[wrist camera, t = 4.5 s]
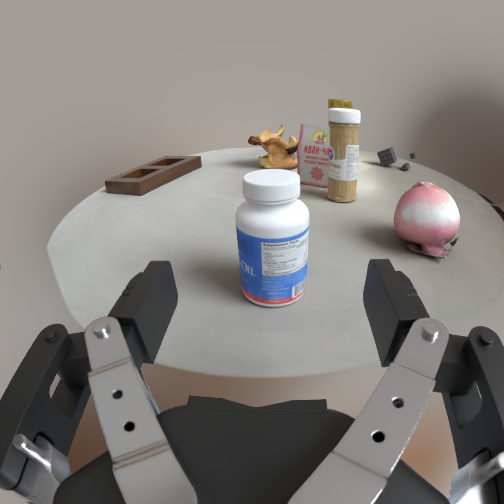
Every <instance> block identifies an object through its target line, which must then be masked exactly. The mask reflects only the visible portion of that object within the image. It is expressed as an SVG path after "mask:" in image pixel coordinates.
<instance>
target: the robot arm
mask: <svg viewBox="0 0 504 504" xmlns="http://www.w3.org/2000/svg"><path fill="white" fill-rule="evenodd" d="M177 302H178V293H177V288H176V284H175V280H174V275H173V271H172V267H171V264H170V262H169V261H151V262H150V263H149V264H148V266H147V267H146V269H145V270H144V272H143V273H142V272H140V273H139V274H137V275H136V276H135V277H133V278H132V279H131V280H130V282H129V283H128V285H127V286H126V289H124V291H123V292H122V295H121V296H120V297H119V299H118V300H117V302H116V303H115V305H114V306H113V308H112V310H111V311H110V313H109V314H108V316H107V317H101V318H98V319H96V320H94V321H93V322H91V323H90V324H89V325H88V326H87V328H86V329H85V332H80V333H73V334H69V333H68V332H67V329H66V328H65V326H63V325H62V324H52V325H50V326H48V327H46V328H44V329H43V330H42V331H41V332H40V334H39V335H38V336H37V338H36V340H35V341H34V343H33V344H32V346H31V348H30V349H29V351H28V352H27V354H26V356H25V357H24V359H23V361H22V362H21V364H20V366H19V367H18V369H17V371H16V373H15V374H14V376H13V378H12V379H11V381H10V383H9V385H8V387H7V389H6V390H5V392H4V394H3V396H2V398H1V400H0V488H1V489H2V490H4V491H6V492H8V493H9V494H11V495H13V496H14V497H16V498H18V499H20V500H22V501H25V502H27V503H29V504H504V346H503V344H502V342H501V340H500V338H499V337H498V335H497V334H496V333H495V332H494V331H492V330H491V329H489V328H487V327H483V326H478V327H475V328H473V329H472V330H471V331H470V333H469V335H468V337H465V336H458V335H452V334H449V333H448V330H447V328H446V327H445V326H444V325H443V324H442V323H441V322H439V321H437V320H435V319H432V318H430V317H429V315H428V313H427V311H426V309H425V307H424V305H423V303H422V301H421V299H420V297H419V296H418V295H417V292H416V290H415V288H414V286H413V285H412V283H411V281H410V279H409V278H408V277H407V276H406V275H404V274H403V273H402V272H401V271H395V270H394V268H393V266H392V264H391V262H390V261H389V259H371V260H370V261H369V264H368V270H367V275H366V281H365V286H364V292H363V302H364V307H365V310H366V313H367V317H368V320H369V323H370V326H371V330H372V333H373V336H374V340H375V343H376V347H377V350H378V354H379V358H380V361H381V365H382V367H388V369H387V370H386V372H385V374H384V376H383V377H382V379H381V381H380V382H379V384H378V386H377V387H376V389H375V391H374V392H373V394H372V395H371V397H370V398H369V400H368V401H367V403H366V405H365V406H364V408H363V409H362V411H361V412H360V414H359V415H358V417H357V418H356V419H354V418H352V417H350V416H349V415H347V414H344V413H342V412H339V411H335V410H332V409H327V402H326V399H323V400H322V399H321V400H292V401H287V402H283V403H278V404H273V405H268V406H263V407H251V406H247V405H243V404H239V403H236V402H233V401H229V400H225V399H222V398H211V397H199V396H189V399H188V403H187V405H182V406H177V407H174V408H170V409H168V410H166V411H163V412H160V410H159V408H158V406H157V404H156V402H155V400H154V398H153V396H152V394H151V391H150V389H149V387H148V385H147V383H146V380H145V378H144V376H143V374H142V371H141V369H140V368H141V365H142V363H150V364H153V363H154V361H155V358H156V355H157V353H158V350H159V348H160V345H161V343H162V340H163V338H164V335H165V333H166V330H167V328H168V325H169V323H170V321H171V318H172V316H173V313H174V311H175V308H176V306H177ZM56 374H58V375H59V377H60V378H61V379H60V381H59V383H58V385H57V387H56V390H55V392H54V394H53V396H52V398H50V395H49V390H50V386H51V384H52V382H53V380H54V378H55V376H56ZM477 386H478V389H479V391H480V394H481V397H482V400H481V397H480V395H479V391H478V389H477ZM432 391H433V392H441V393H442V396H443V400H444V404H445V408H446V411H447V415H448V419H449V424H450V428H451V432H452V437H453V442H454V446H455V451H456V457H457V462H458V468H459V470H458V471H457V473H456V474H455V475H454V477H453V479H452V482H451V489H450V497H449V500H448V499H447V498H446V497H445V496H444V495H443V494H442V493H440V492H439V491H438V490H437V489H436V488H434V487H433V486H432V485H431V484H429V483H428V482H427V481H426V480H425V479H424V478H422V477H421V476H420V475H419V474H418V473H416V472H415V471H414V470H413V469H412V468H411V467H410V466H408V465H407V464H406V463H405V462H404V461H403V460H401V459H400V458H401V456H402V454H403V452H404V451H405V449H406V447H407V445H408V443H409V441H410V439H411V437H412V435H413V433H414V431H415V429H416V427H417V425H418V423H419V421H420V419H421V417H422V414H423V412H424V410H425V408H426V405H427V403H428V400H429V398H430V396H431V394H432ZM91 393H92V397H93V400H94V404H95V408H96V411H97V415H98V418H99V421H100V425H101V428H102V431H103V435H104V438H105V441H106V444H107V447H108V449H109V450H107V451H106V452H104V453H103V454H101V455H100V456H99V457H97V458H96V459H94V460H93V461H91V462H89V463H88V464H86V465H85V466H84V467H82V468H80V469H79V470H77V471H76V472H74V473H73V474H72V473H71V472H70V471H69V470H70V469H69V467H70V466H69V462H68V460H67V456H68V453H69V450H70V447H71V444H72V441H73V438H74V436H75V433H76V430H77V427H78V425H79V422H80V419H81V417H82V414H83V411H84V409H85V406H86V404H87V401H88V399H89V396H90V394H91Z"/></svg>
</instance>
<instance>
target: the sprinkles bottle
mask: <svg viewBox="0 0 504 504" xmlns="http://www.w3.org/2000/svg"><path fill="white" fill-rule="evenodd" d="M360 118H361V117H360V111H359V110H354V109H347V108H330V109H329V110H328V120H329V121H330V122H329V124H330V146H329V168H328V176H329V178H328V192H327V196H328V198H329V199H331V200H333V201H337V202H351V201H354V200H355V199H356V183H357V176H358V159H359V123H360V120H361V119H360Z"/></svg>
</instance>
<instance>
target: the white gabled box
mask: <svg viewBox="0 0 504 504" xmlns="http://www.w3.org/2000/svg"><path fill="white" fill-rule="evenodd" d="M329 146H330V127H329V126H328V127H327V126H316V125H303V124H302V125H301V132H300V138H299V143H298V149H297V159H298V175H299V176H300V183H301V184H307V185H313V186H319V187H325V188H328V178H329V176H328V168H329Z"/></svg>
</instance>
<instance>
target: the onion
mask: <svg viewBox="0 0 504 504" xmlns="http://www.w3.org/2000/svg"><path fill="white" fill-rule="evenodd" d="M459 225H460V215H459V211H458V208H457V206H456V203H455V202H454V200H453V199H452V197H451V196H450V195H449V194H448V193H447V192H446V191H445V190H443V189H441V188H439V187H437V186H435V185H433V184H431V183H429V182H425V183H423V182H421V181H418V182H417V183H415V184H414V185H413V186H412V188H411V189H410V190H408V191H407V192H405V193H404V194H403V195H402V197H401V198H400V200H399V202H398V204H397V207H396V211H395V215H394V226H395V229H396V231H397V232H398V234H399V235H400V236H401V237H402V238H403V239H405V242H406V244H407V246H408V248H409V250H410V251H414V252H418V253H422V254H427V255H431V256H435V257H439V258H446V257H447V255H448V254H449V252H450V251H451V249H452V246H454V244H455V243H456V241H457V240H458V238H459V237H458V238H455V240H453V242H451V243H450V244H451V245H452V246H451V249H450V250H445V249H444V248H443V245H444V244H446V243H448V242H449V241H451V240H452V239H453V238H454V237H455V235H456V233H457V231H458V229H459Z"/></svg>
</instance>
